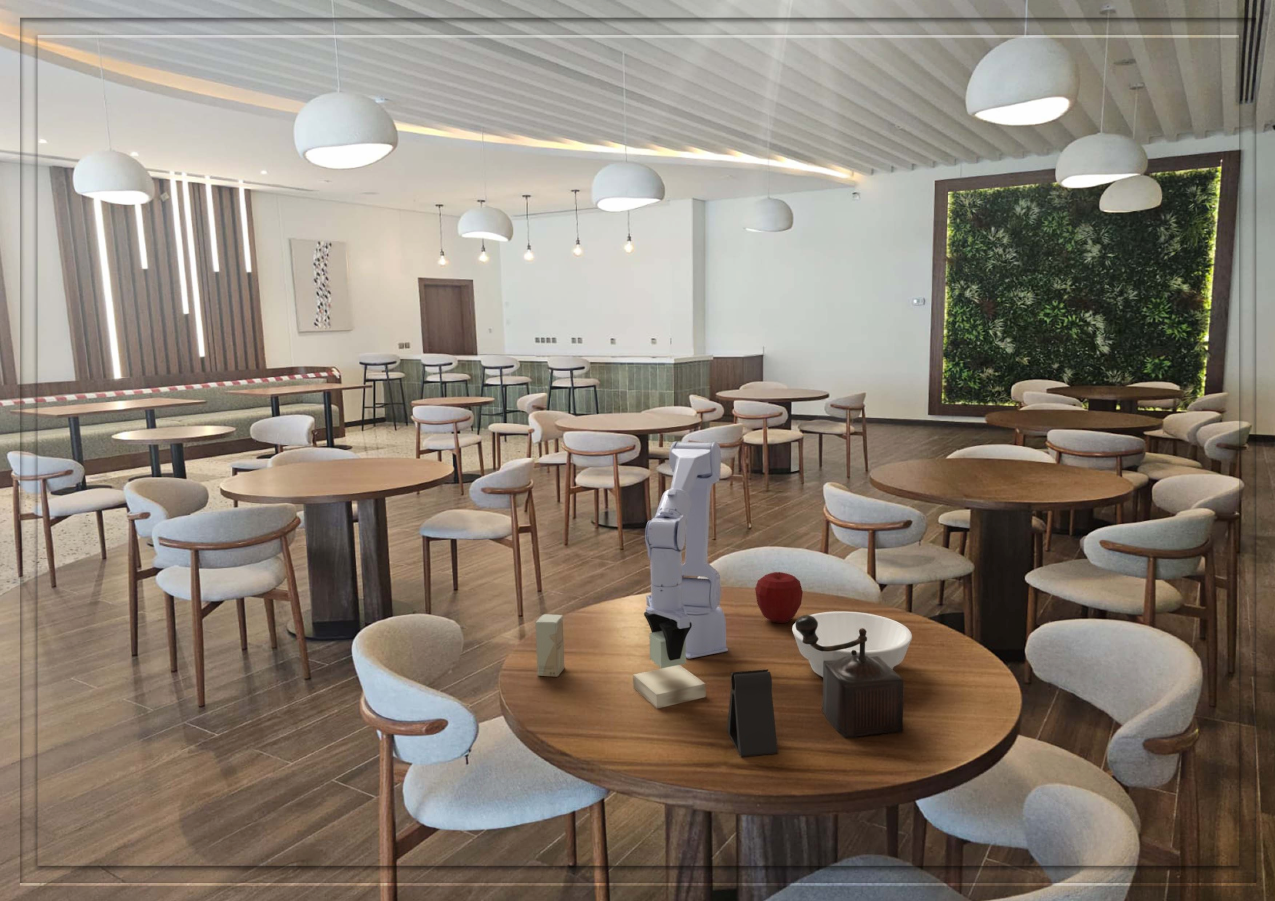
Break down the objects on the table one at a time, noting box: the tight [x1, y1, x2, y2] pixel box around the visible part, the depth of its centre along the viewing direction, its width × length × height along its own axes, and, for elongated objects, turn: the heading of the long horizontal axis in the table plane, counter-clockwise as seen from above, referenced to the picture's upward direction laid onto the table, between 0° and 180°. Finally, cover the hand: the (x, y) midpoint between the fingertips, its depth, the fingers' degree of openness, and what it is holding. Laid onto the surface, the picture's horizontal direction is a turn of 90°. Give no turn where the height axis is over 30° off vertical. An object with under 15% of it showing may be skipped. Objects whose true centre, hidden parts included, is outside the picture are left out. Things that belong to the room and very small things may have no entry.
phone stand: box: [726, 668, 779, 758], centre depth 130 cm, size 9×6×12 cm, turn 7°
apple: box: [754, 571, 804, 624], centre depth 186 cm, size 11×11×12 cm
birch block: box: [632, 664, 707, 709], centre depth 150 cm, size 10×10×3 cm
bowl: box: [791, 611, 913, 678], centre depth 157 cm, size 22×22×8 cm
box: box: [535, 613, 565, 677], centre depth 161 cm, size 5×4×11 cm
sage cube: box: [648, 631, 687, 669], centre depth 149 cm, size 5×5×5 cm
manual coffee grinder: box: [795, 614, 904, 739], centre depth 136 cm, size 16×11×18 cm
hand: (668, 653), depth 149 cm, fingers closed on sage cube, 5 cm apart
